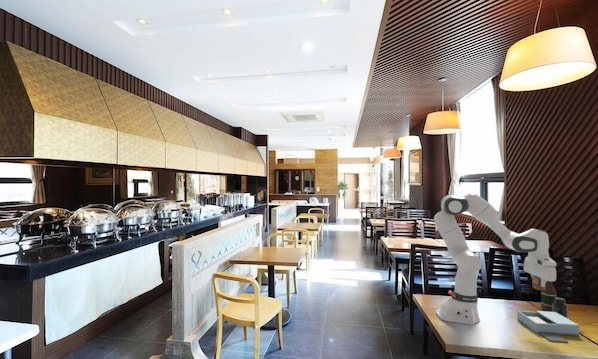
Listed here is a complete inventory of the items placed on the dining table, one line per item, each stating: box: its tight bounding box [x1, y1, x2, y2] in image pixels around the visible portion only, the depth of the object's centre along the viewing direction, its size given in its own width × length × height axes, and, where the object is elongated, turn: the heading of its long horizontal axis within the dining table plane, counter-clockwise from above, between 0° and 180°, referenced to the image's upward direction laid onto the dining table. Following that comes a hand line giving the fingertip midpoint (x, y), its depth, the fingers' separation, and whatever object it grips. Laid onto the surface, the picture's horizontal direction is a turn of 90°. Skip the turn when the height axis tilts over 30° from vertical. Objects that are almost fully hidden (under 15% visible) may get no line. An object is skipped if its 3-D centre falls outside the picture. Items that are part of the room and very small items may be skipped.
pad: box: [538, 333, 569, 344], centre depth 149 cm, size 8×8×1 cm
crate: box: [516, 310, 580, 337], centre depth 161 cm, size 20×16×6 cm
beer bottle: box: [540, 281, 557, 312], centre depth 183 cm, size 8×8×24 cm
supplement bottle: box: [552, 296, 569, 319], centre depth 171 cm, size 7×7×12 cm
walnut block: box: [531, 276, 546, 291], centre depth 161 cm, size 4×4×6 cm
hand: (538, 284), depth 161 cm, fingers closed on walnut block, 4 cm apart
